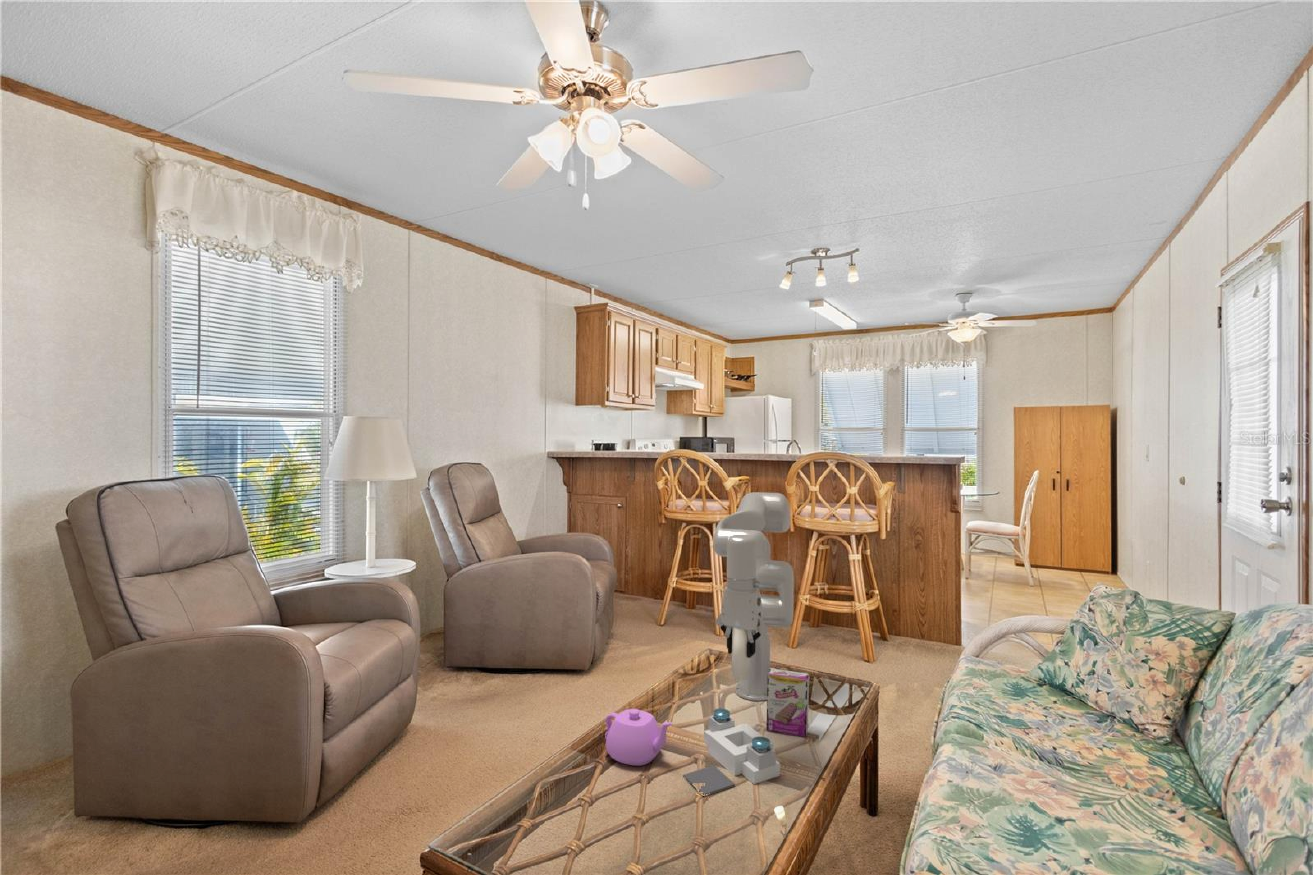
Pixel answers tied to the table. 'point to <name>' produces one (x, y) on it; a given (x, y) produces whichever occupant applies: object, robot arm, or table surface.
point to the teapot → (634, 737)
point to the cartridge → (740, 653)
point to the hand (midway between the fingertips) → (740, 653)
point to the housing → (740, 750)
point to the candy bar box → (787, 702)
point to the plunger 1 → (721, 715)
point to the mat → (710, 780)
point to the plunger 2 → (761, 744)
